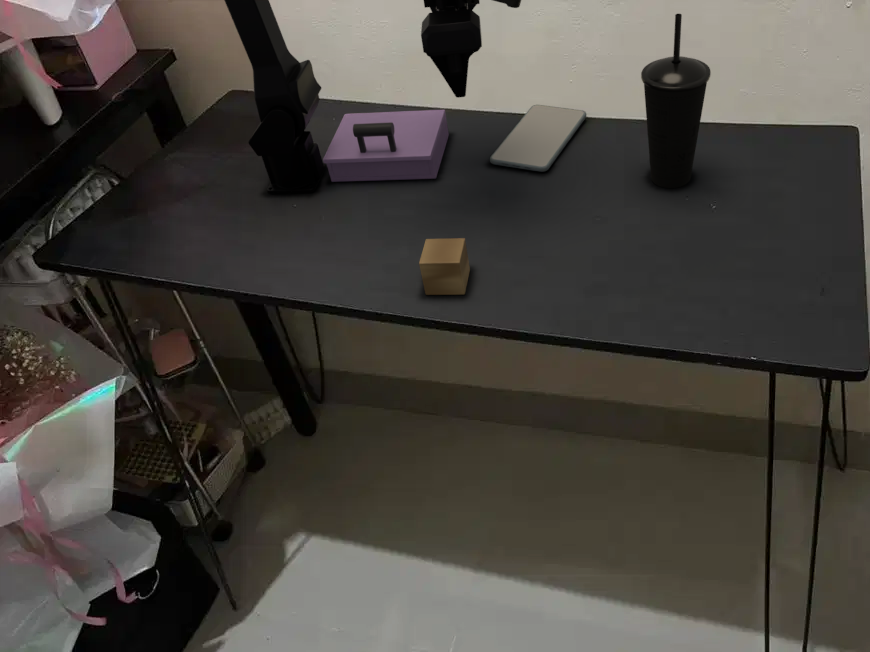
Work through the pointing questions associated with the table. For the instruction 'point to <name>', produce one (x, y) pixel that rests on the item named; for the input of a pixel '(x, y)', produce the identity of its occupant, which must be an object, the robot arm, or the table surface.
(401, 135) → the purple hinged lid
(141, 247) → the table surface
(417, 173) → the purple box
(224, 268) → the table surface
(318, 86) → the robot arm
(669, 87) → the drinking cup
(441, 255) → the block
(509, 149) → the smartphone
